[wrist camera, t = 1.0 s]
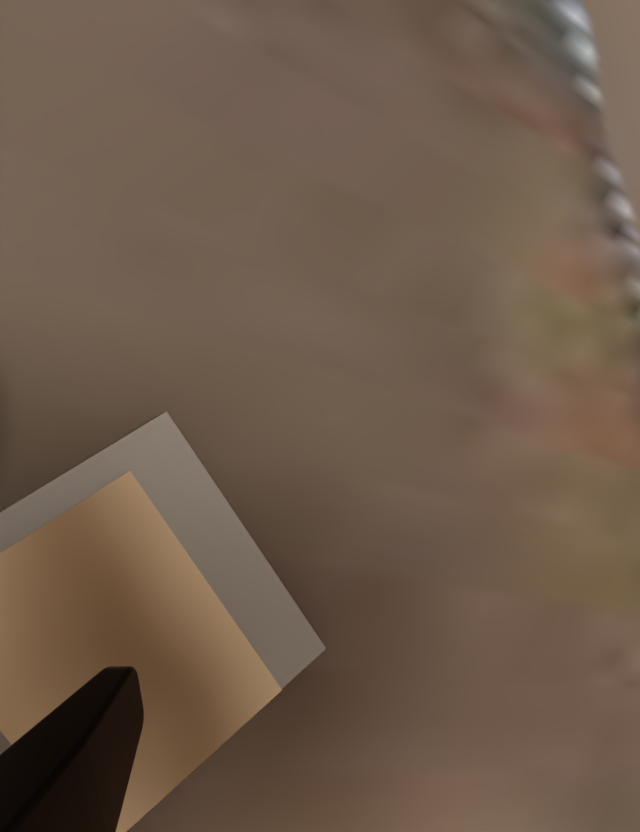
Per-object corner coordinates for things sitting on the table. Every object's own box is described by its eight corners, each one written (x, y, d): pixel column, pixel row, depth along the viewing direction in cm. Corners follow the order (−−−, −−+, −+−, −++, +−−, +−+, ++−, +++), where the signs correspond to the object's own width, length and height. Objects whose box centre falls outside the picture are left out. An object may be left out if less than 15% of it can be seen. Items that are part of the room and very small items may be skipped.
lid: (102, 809, 15) (99, 856, 13) (-64, 593, 14) (-93, 612, 12) (265, 666, 17) (282, 690, 15) (129, 470, 16) (129, 470, 14)
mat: (60, 876, 15) (58, 891, 15) (-154, 607, 14) (-166, 613, 13) (320, 642, 19) (326, 648, 18) (164, 413, 17) (166, 411, 17)
